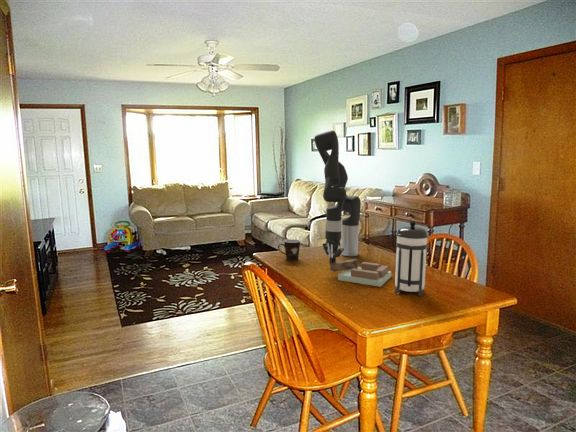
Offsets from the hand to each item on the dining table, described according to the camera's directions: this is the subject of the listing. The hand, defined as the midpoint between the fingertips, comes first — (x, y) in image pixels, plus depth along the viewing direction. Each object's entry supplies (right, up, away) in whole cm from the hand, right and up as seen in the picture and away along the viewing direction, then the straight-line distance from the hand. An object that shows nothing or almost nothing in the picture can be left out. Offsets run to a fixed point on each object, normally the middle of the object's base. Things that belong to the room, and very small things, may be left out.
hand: (332, 264), depth 207 cm
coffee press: (+30, -9, -25) cm, 40 cm away
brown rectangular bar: (+6, -2, 0) cm, 6 cm away
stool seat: (+14, -6, -5) cm, 16 cm away
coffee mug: (-20, 0, +28) cm, 35 cm away
